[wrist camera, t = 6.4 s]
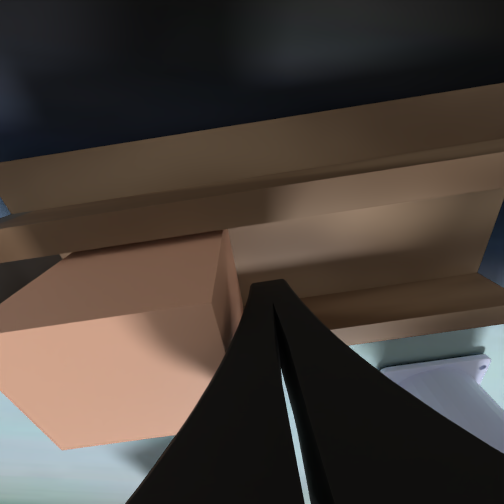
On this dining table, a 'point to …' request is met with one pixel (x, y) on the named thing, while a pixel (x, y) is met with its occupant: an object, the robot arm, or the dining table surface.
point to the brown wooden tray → (295, 208)
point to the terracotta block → (120, 338)
